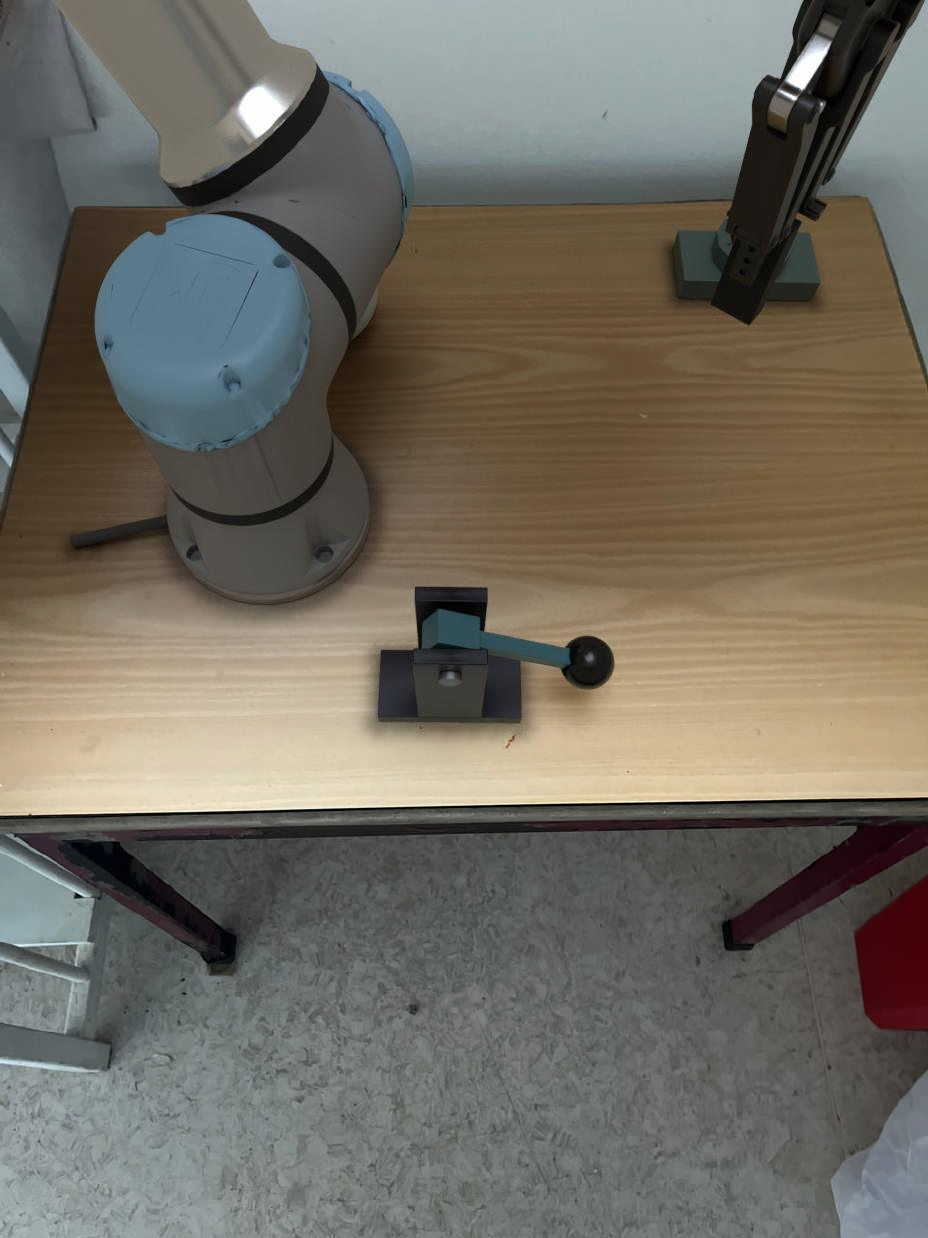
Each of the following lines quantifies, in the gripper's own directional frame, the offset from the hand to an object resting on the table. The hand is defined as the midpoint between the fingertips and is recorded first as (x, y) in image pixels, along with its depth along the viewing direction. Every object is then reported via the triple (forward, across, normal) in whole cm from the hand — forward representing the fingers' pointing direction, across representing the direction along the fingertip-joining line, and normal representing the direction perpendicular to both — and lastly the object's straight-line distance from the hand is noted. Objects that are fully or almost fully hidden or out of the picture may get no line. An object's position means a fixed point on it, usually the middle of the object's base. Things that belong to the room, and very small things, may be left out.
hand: (736, 307), depth 51 cm
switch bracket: (+19, -25, +2) cm, 31 cm away
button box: (+19, +23, +6) cm, 30 cm away
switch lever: (+13, -22, -1) cm, 26 cm away
